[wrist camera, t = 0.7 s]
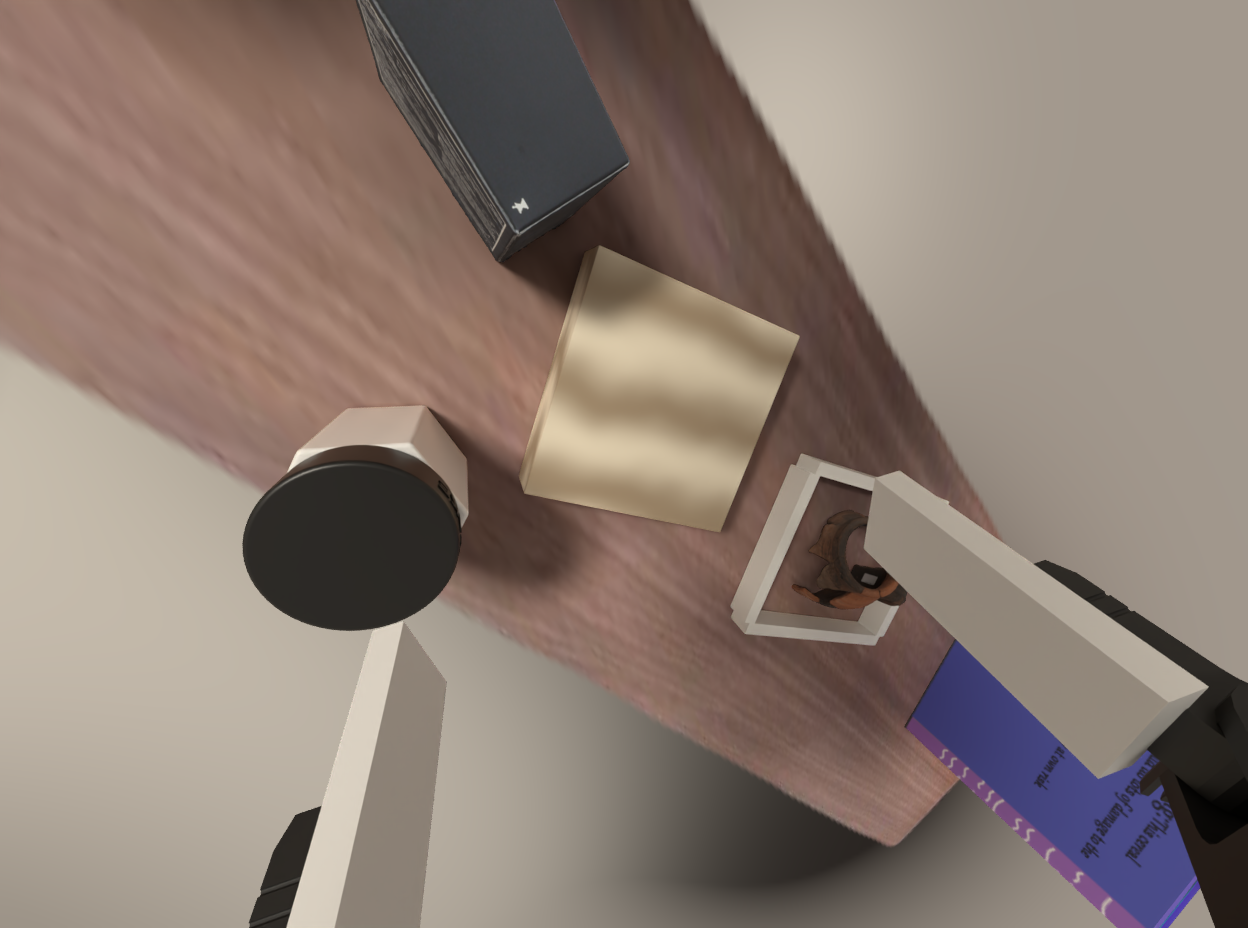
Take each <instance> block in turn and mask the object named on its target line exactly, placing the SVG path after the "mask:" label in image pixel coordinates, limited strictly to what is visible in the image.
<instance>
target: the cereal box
mask: <svg viewBox="0 0 1248 928" xmlns="http://www.w3.org/2000/svg"><path fill="white" fill-rule="evenodd" d="M905 728H906V729H908V730H909V731H910V732H911V733H912V734H913V735H914V736H915V737H916V738H917V739H918V740H919V741H920V742H921V743H922V744H923V745H924V746H926V747H927V748H928V749H929V750H930V751H931V752H932V753H933V754H934V755H935V756H936V757H937V758H938V759H939V760H940V761H941V762H942V763H944V764H945V765H946V766H947V767H948V768H949V769H950V770H951V771H952V772H953V773H954V774H955V775H956V776H957V777H958V778H959V779H960V780H962V781H963V782H964V783H965V784H966V785H967V786H968V787H969V788H970V789H971V790H972V791H973V792H974V793H975V794H976V795H978V797H980V798H981V799H982V800H983V801H984V802H985V803H986V804H987V805H988V806H989V807H990V808H991V809H992V810H993V811H994V812H995V813H997V815H999V816H1000V817H1001V818H1002V819H1003V820H1004V821H1005V822H1006V823H1007V824H1008V825H1009V826H1010V827H1011V828H1012V829H1014V830H1015V832H1017V833H1018V834H1019V835H1020V836H1021V837H1022V838H1023V839H1024V840H1025V841H1026V842H1027V843H1028V844H1029V845H1030V846H1031V847H1032V848H1034V849H1035V850H1036V851H1037V852H1038V853H1039V854H1040V855H1041V856H1042V857H1043V858H1044V859H1045V860H1046V861H1047V862H1048V863H1049V864H1050V865H1051V866H1053V867H1054V868H1055V869H1056V870H1057V871H1058V872H1059V873H1060V874H1061V875H1062V876H1063V877H1064V878H1065V879H1066V880H1067V881H1068V882H1069V883H1071V884H1072V885H1073V886H1074V887H1075V888H1076V889H1077V890H1078V891H1079V892H1080V893H1081V894H1082V895H1083V896H1084V897H1086V898H1087V900H1089V901H1090V902H1091V903H1092V904H1093V905H1094V906H1095V907H1096V908H1097V909H1098V910H1099V911H1100V912H1101V913H1102V914H1103V915H1105V917H1107V918H1108V919H1109V920H1110V921H1111V922H1112V923H1113V924H1114V925H1115V926H1116V927H1117V928H1168V927H1169V926H1170V925H1171V924H1172V922H1173V921H1174V920H1175V919H1176V917H1177V916H1178V915H1179V913H1180V912H1181V911H1182V910H1183V909H1184V907H1185V906H1186V905H1187V904H1188V902H1189V901H1190V900H1191V899H1192V897H1193V896H1194V895H1195V894H1196V893H1197V891H1198V890H1199V889H1200V885H1199V883H1198V880H1197V877H1196V875H1195V872H1194V869H1193V867H1192V864H1191V861H1190V859H1189V856H1188V853H1187V850H1186V848H1185V845H1184V842H1183V840H1182V837H1181V834H1180V832H1179V829H1178V826H1177V824H1176V821H1175V818H1174V815H1173V813H1172V810H1171V807H1170V805H1169V803H1167V802H1164V801H1161V800H1160V797H1161V795H1162V792H1163V791H1164V789H1163V786H1162V785H1161V786H1160V787H1159V788H1157V789H1156V790H1155V791H1154V792H1153V793H1152V794H1151V795H1150V796H1145V795H1142V794H1140V784H1139V782H1140V781H1141V779H1142V778H1143V777H1144V775H1145V774H1146V773H1147V772H1148V771H1149V770H1150V769H1152V768H1153V767H1154V766H1155V765H1156V764H1157V763H1158V762H1159V760H1158V759H1157V758H1156V757H1155V756H1154V755H1152V754H1151V753H1150V752H1149V751H1148V750H1147V751H1146V752H1145V753H1144V754H1143V755H1142V756H1141V757H1140V758H1139V759H1138V760H1137V761H1136V762H1135V763H1134V764H1133V765H1132V766H1130V767H1127V768H1125V769H1122V770H1120V771H1117V772H1114V773H1112V774H1109V775H1107V776H1104V777H1102V778H1099V779H1098V778H1097V777H1096V776H1095V775H1094V774H1093V773H1091V772H1090V771H1089V770H1088V769H1087V768H1086V767H1085V766H1084V765H1083V764H1082V763H1081V762H1080V761H1079V760H1078V759H1077V758H1076V757H1075V756H1074V755H1073V754H1072V753H1071V752H1070V751H1069V750H1068V749H1067V748H1066V747H1065V746H1064V745H1063V744H1062V743H1061V742H1060V741H1059V740H1058V739H1057V738H1056V737H1055V736H1054V735H1053V734H1052V733H1051V732H1050V731H1049V730H1048V729H1047V728H1046V727H1045V726H1044V725H1043V724H1042V723H1041V722H1040V721H1039V720H1038V719H1037V718H1036V717H1035V716H1033V715H1032V714H1031V713H1030V712H1029V711H1028V710H1027V709H1026V708H1025V707H1024V706H1023V705H1022V704H1021V703H1020V702H1019V701H1018V700H1017V699H1016V698H1015V697H1014V696H1013V695H1012V694H1011V693H1010V692H1009V691H1008V690H1007V689H1006V688H1005V687H1004V686H1003V685H1002V684H1001V683H1000V682H999V681H998V680H997V679H996V678H995V677H994V676H993V675H992V674H991V673H990V672H989V671H988V670H987V669H986V668H985V667H984V666H983V665H982V664H981V663H980V662H979V661H978V660H977V659H975V658H974V657H973V656H972V655H971V654H970V653H969V652H968V651H967V650H966V649H965V648H964V647H963V646H962V645H961V644H960V643H959V642H958V641H957V640H956V639H955V640H954V642H953V644H952V646H951V647H950V649H949V651H948V652H947V654H946V656H945V658H944V659H943V661H942V663H941V665H940V666H939V668H938V670H937V671H936V673H935V675H934V677H933V678H932V680H931V682H930V684H929V685H928V687H927V689H926V690H925V692H924V694H923V696H922V697H921V699H920V701H919V703H918V704H917V706H916V708H915V709H914V711H913V713H912V715H911V716H910V718H909V720H908V722H907V723H906V725H905Z"/></svg>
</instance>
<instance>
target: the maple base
mask: <svg viewBox="0 0 1248 928" xmlns="http://www.w3.org/2000/svg"><path fill="white" fill-rule="evenodd" d="M799 337H800V336H798V335H796V334H794V333H792V332H790V331H787V330H785V329H783V328H781V327H779V326H776V325H774V324H772V323H770V322H768V321H765V320H763V319H761V318H759V317H757V316H754V315H752V314H750V313H748V312H746V311H743V310H741V309H739V308H737V307H735V306H732V305H730V304H728V303H726V302H724V301H721V300H719V299H717V298H715V297H713V296H710V295H708V294H706V293H704V292H702V291H699V290H697V289H695V288H693V287H691V286H688V285H686V284H684V283H682V282H680V281H677V280H675V279H673V278H671V277H669V276H666V275H664V274H662V273H660V272H658V271H655V270H653V269H651V268H649V267H647V266H644V265H642V264H640V263H638V262H636V261H633V260H631V259H629V258H627V257H624V256H622V255H620V254H618V253H616V252H613V251H611V250H609V249H607V248H605V247H602V246H600V245H599V246H596V247H594V248H592V249H590V250H588V251H586V252H585V253H584V256H583V260H582V263H581V267H580V270H579V273H578V277H577V280H576V284H575V287H574V290H573V294H572V297H571V300H570V304H569V307H568V311H567V314H566V317H565V321H564V324H563V327H562V331H561V334H560V338H559V341H558V344H557V348H556V351H555V354H554V358H553V361H552V365H551V368H550V371H549V375H548V378H547V382H546V385H545V388H544V392H543V395H542V398H541V402H540V405H539V409H538V412H537V415H536V419H535V422H534V425H533V429H532V432H531V436H530V439H529V442H528V446H527V449H526V452H525V456H524V459H523V463H522V466H521V469H520V473H519V479H520V482H521V485H522V488H523V491H524V494H529V495H534V496H539V497H544V498H549V499H554V500H559V501H564V502H569V503H574V504H579V505H584V506H589V507H594V508H599V509H604V510H609V511H614V512H619V513H624V514H629V515H634V516H639V517H645V518H650V519H655V520H660V521H665V522H670V523H675V524H680V525H685V526H690V527H695V528H700V529H705V530H710V531H715V532H720V531H721V529H722V526H723V524H724V521H725V519H726V516H727V514H728V511H729V509H730V507H731V504H732V502H733V499H734V497H735V494H736V492H737V489H738V487H739V484H740V482H741V480H742V477H743V475H744V472H745V470H746V467H747V465H748V462H749V460H750V457H751V455H752V453H753V450H754V448H755V445H756V443H757V440H758V438H759V435H760V433H761V430H762V428H763V426H764V423H765V421H766V418H767V416H768V413H769V411H770V408H771V406H772V403H773V401H774V398H775V396H776V394H777V391H778V389H779V386H780V384H781V381H782V379H783V376H784V374H785V371H786V369H787V367H788V364H789V362H790V359H791V357H792V354H793V352H794V349H795V347H796V344H797V342H798V340H799Z"/></svg>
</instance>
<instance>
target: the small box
mask: <svg viewBox="0 0 1248 928" xmlns="http://www.w3.org/2000/svg"><path fill="white" fill-rule="evenodd" d="M356 3H357V7H358V9H359V12H360V15H361V18H362V21H363V24H364V27H365V30H366V34H367V37H368V41H369V43H370V46H371V50H372V53H373V56H374V60H375V63H376V68H377V71H378V76H379V79H380V81H381V82H382V84H383V85H384V87H385V88H386V90H387V92H388V93H389V95H390V96H391V98H392V100H393V101H394V103H395V104H396V106H397V108H398V109H399V111H400V112H401V114H402V115H403V117H404V118H405V120H406V121H407V123H408V125H409V126H410V128H411V129H412V131H413V132H414V134H415V135H416V137H417V139H418V140H419V142H420V144H421V146H422V147H423V148H424V150H425V151H426V153H427V155H428V156H429V157H430V159H431V161H432V162H433V164H434V165H435V167H436V168H437V170H438V171H439V173H440V174H441V176H442V178H443V179H444V181H445V183H446V184H447V185H448V187H449V189H450V190H451V192H452V194H453V196H454V197H455V199H456V200H457V201H458V203H459V205H460V206H461V207H462V209H463V210H464V212H465V214H466V215H467V217H468V218H469V220H470V222H471V223H472V225H473V226H474V228H475V229H476V231H477V232H478V234H479V235H480V237H481V238H482V240H483V241H484V243H485V244H486V246H487V247H488V249H489V250H490V252H491V253H492V255H493V257H494V258H495V260H496V261H499V262H503V263H504V262H505V260H507V259H509V258H510V257H511V256H512V255H513V254H514V253H515V252H517V251H520V250H521V249H522V248H525V247H526V246H527V245H528V244H529V243H532V242H533V241H534V240H535V239H537V238H539V237H540V236H543V235H544V234H545V233H547V232H548V231H550V230H551V229H555V228H556V227H558V226H560V225H561V224H562V223H564V221H566V220H567V219H568V218H570V217H571V216H572V215H574V214H575V213H576V212H577V211H578V210H579V209H580V208H581V207H582V206H583V205H584V204H585V203H587V202H588V201H589V200H590V199H591V198H592V197H593V196H595V195H596V194H597V193H598V192H599V191H600V190H601V189H602V188H603V187H605V186H606V184H608V183H609V182H610V181H611V180H612V179H613V178H614V177H616V176H617V175H618V174H619V173H620V172H621V171H622V170H624V169H626V168H627V167H628V165H629V163H630V161H629V158H628V156H627V154H626V152H625V150H624V147H623V145H622V143H621V141H620V139H619V136H618V134H617V132H616V130H615V128H614V126H613V124H612V121H611V119H610V117H609V115H608V113H607V111H606V109H605V107H604V105H603V102H602V100H601V98H600V96H599V94H598V92H597V90H596V88H595V85H594V83H593V81H592V79H591V77H590V75H589V73H588V71H587V68H586V66H585V64H584V62H583V60H582V58H581V56H580V53H579V51H578V49H577V47H576V45H575V43H574V41H573V39H572V36H571V34H570V32H569V30H568V28H567V26H566V24H565V22H564V19H563V17H562V15H561V13H560V11H559V9H558V6H557V4H556V2H555V0H356Z"/></svg>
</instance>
